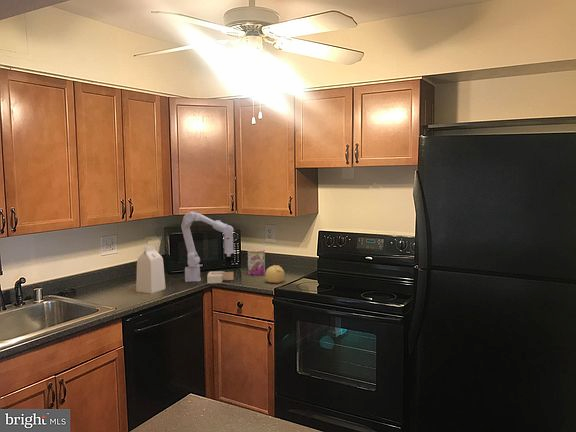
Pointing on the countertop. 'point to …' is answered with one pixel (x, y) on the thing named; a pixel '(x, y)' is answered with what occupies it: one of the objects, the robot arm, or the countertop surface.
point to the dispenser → (214, 277)
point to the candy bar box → (256, 262)
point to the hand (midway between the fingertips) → (229, 265)
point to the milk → (150, 271)
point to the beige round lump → (274, 274)
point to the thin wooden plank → (225, 275)
